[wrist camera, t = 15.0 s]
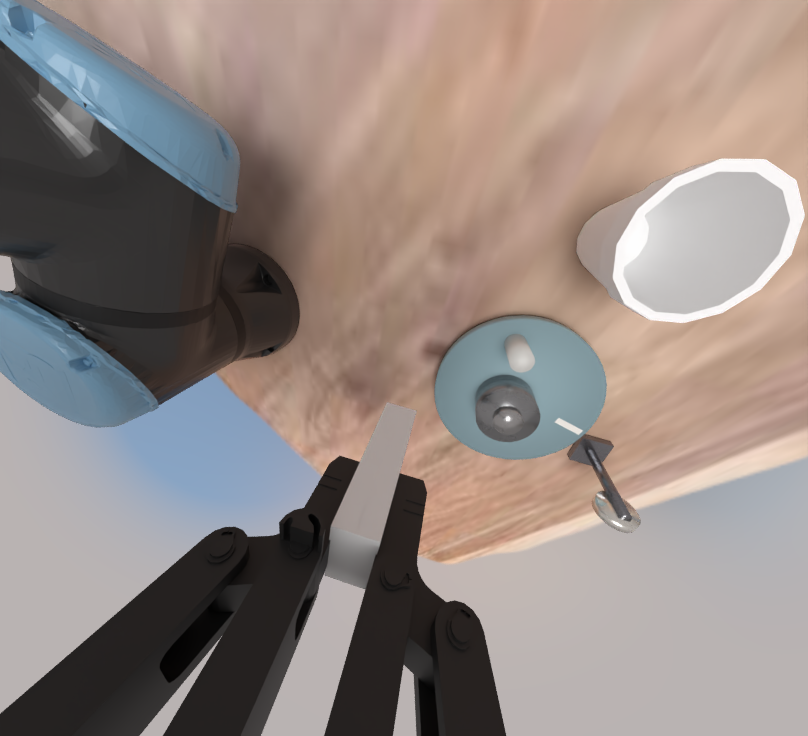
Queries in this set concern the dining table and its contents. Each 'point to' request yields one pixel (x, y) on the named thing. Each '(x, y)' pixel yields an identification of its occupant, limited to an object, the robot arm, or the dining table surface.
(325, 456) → the dining table surface
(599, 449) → the dial stand
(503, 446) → the turntable
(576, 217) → the dining table surface
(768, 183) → the foam cup
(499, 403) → the cover
